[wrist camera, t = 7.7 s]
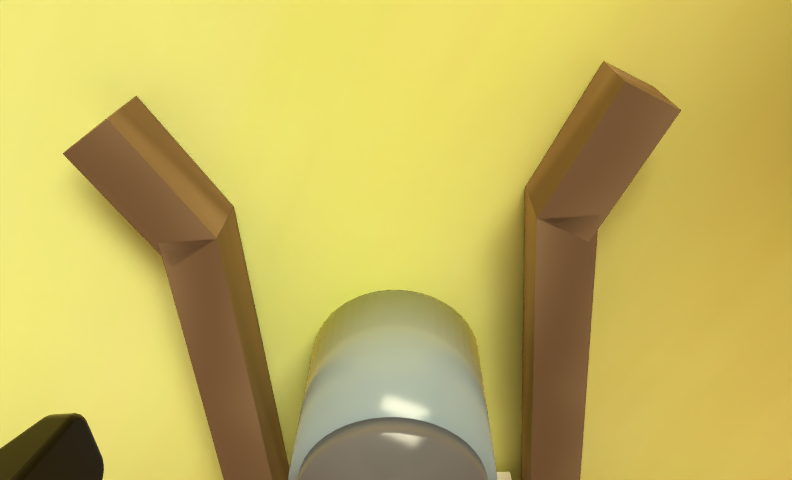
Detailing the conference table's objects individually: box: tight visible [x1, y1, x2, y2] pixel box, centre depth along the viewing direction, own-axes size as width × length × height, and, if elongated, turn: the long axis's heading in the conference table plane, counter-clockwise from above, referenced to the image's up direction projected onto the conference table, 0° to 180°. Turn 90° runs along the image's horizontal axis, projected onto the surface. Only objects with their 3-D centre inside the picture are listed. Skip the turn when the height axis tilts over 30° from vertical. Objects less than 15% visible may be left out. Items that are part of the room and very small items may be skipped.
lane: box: [63, 62, 681, 480], centre depth 20 cm, size 15×20×5 cm
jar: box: [288, 290, 497, 480], centre depth 20 cm, size 6×6×6 cm
